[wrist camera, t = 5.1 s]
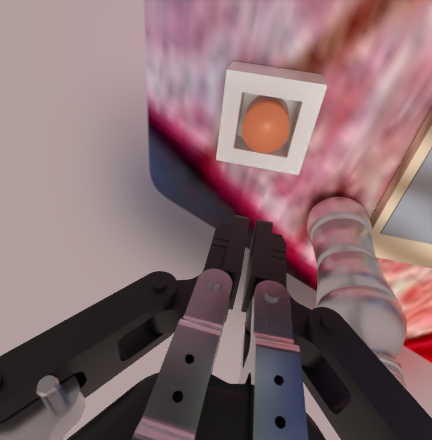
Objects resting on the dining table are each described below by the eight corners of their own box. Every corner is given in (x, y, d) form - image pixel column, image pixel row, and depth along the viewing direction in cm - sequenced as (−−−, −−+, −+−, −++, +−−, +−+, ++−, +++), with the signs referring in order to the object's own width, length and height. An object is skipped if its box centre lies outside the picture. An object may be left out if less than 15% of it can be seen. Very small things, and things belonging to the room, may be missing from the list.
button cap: (250, 90, 27) (245, 102, 24) (293, 97, 27) (295, 110, 23) (243, 132, 29) (238, 148, 26) (283, 139, 29) (282, 156, 26)
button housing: (233, 60, 27) (226, 69, 23) (322, 74, 26) (327, 85, 23) (222, 143, 32) (216, 159, 28) (297, 156, 31) (298, 175, 28)
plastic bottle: (326, 243, 37) (357, 424, 21) (293, 208, 35) (300, 382, 19) (377, 218, 34) (457, 412, 18) (344, 177, 31) (402, 358, 16)
